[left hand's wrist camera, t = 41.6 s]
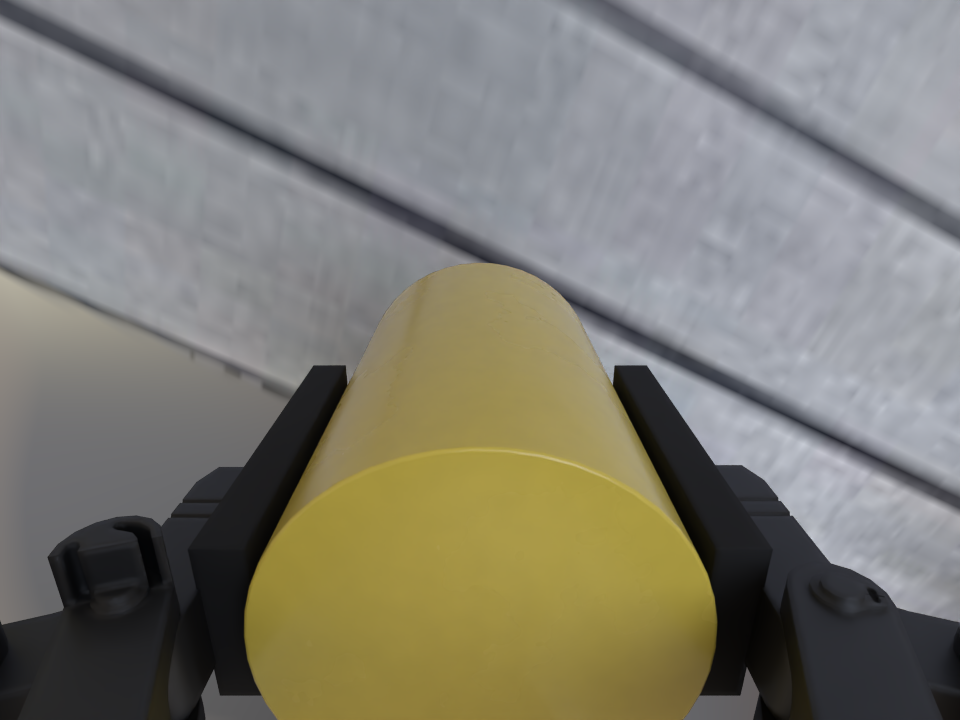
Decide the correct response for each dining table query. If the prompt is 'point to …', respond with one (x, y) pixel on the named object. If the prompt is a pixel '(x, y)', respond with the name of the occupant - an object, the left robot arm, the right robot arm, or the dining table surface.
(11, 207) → the dining table surface
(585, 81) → the dining table surface
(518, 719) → the tin
